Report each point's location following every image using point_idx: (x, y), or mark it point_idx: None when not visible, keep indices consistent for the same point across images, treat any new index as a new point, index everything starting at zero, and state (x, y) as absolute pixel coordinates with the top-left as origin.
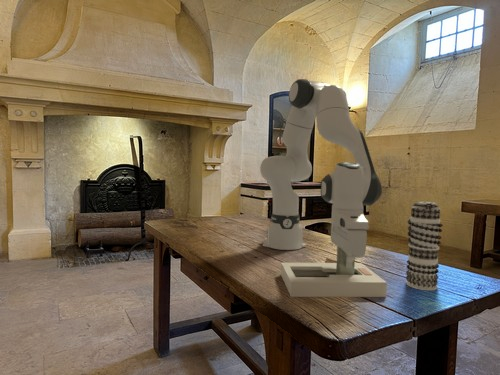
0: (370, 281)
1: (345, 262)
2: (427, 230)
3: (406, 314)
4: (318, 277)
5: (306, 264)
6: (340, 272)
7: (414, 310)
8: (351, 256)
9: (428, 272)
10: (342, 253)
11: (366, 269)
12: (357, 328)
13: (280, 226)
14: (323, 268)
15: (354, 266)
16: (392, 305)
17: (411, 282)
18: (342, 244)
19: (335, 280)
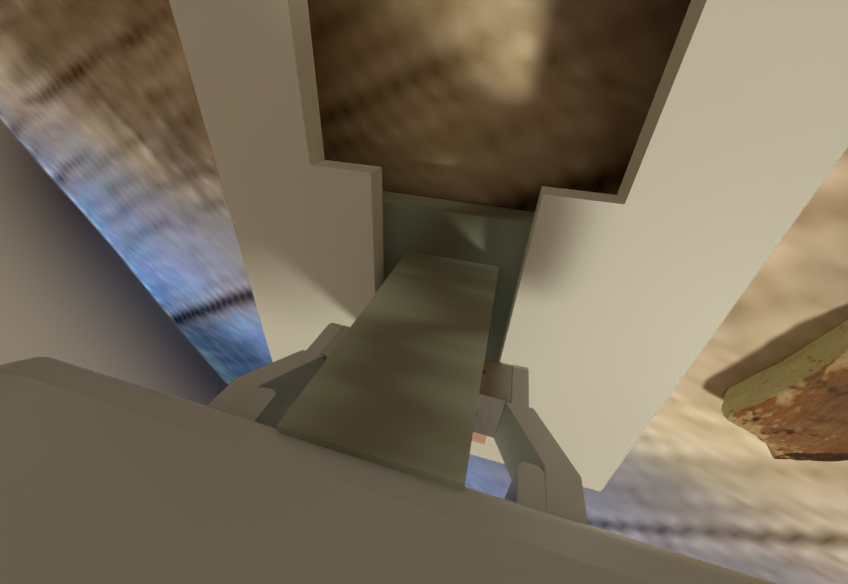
0: (280, 352)
1: (329, 348)
2: None
3: (195, 324)
4: (285, 28)
5: (824, 4)
6: (389, 276)
7: (231, 360)
8: (25, 360)
9: None
10: (306, 399)
11: (471, 442)
12: (11, 101)
13: None
14: (552, 195)
15: None
16: (250, 329)
17: None
18: (205, 511)
19: (247, 168)
